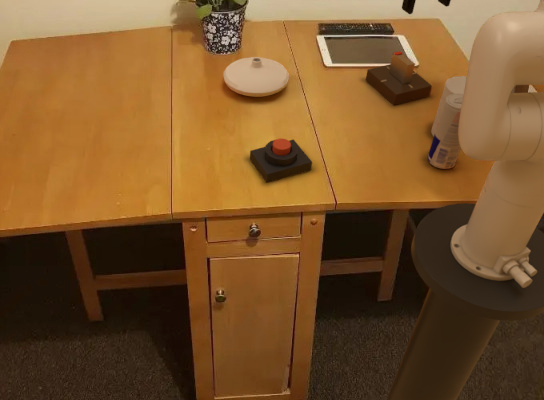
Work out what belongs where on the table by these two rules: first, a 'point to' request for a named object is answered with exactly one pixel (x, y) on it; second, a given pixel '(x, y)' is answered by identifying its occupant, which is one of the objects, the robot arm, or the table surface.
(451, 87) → the cup
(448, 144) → the beverage can
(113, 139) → the table surface
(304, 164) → the box
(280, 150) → the release button
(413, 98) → the plate
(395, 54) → the block
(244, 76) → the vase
